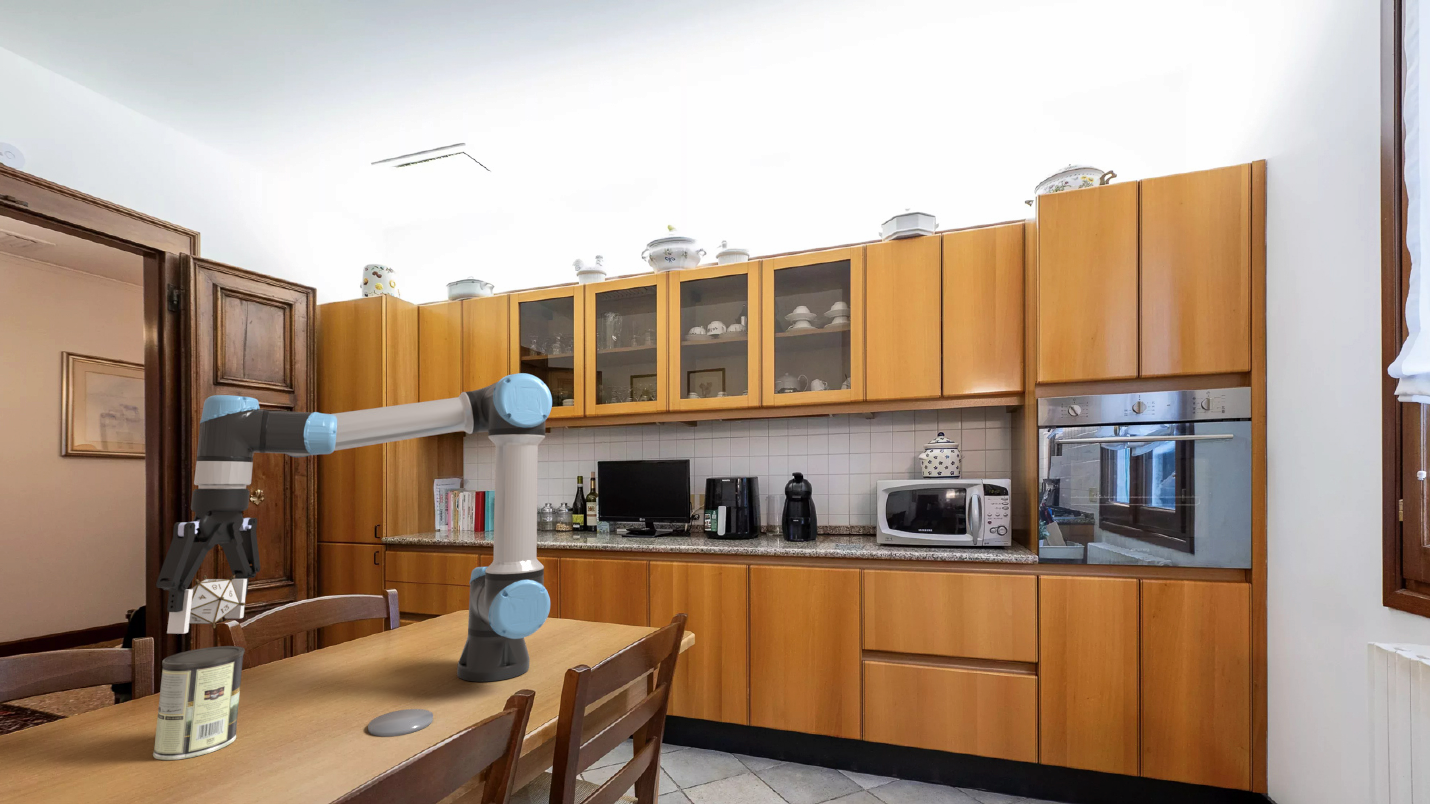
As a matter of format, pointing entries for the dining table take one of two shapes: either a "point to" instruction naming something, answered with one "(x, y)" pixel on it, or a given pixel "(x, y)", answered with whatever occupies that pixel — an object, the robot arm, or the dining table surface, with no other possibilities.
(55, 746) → the dining table surface
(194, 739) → the coffee can
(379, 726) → the slate coaster
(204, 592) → the game die
